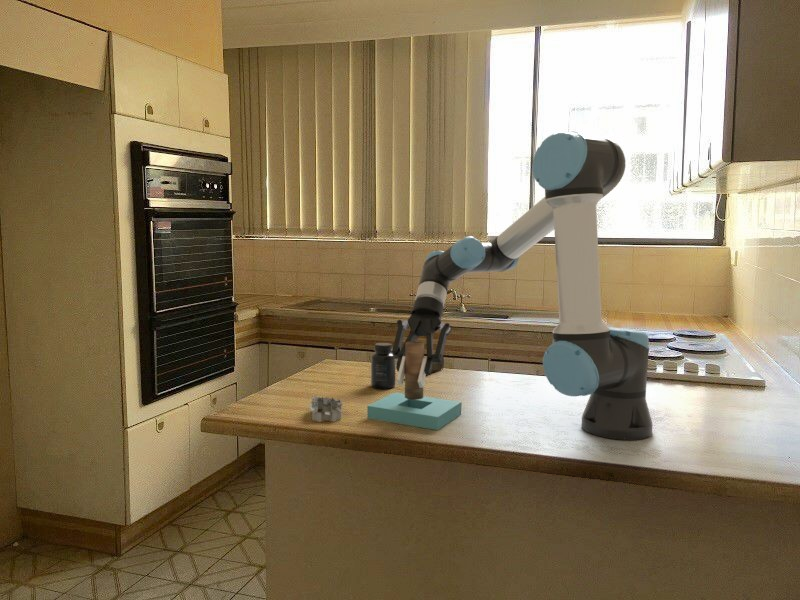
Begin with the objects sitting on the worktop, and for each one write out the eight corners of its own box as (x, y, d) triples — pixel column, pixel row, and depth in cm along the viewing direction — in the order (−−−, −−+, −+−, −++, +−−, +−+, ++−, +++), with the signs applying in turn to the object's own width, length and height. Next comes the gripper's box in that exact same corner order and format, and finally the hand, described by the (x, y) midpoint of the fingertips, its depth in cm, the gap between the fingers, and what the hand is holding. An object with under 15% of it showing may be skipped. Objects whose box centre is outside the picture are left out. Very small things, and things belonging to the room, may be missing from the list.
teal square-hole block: (461, 414, 160) (461, 401, 160) (437, 430, 148) (438, 417, 147) (394, 403, 168) (395, 392, 168) (367, 418, 156) (367, 405, 155)
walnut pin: (426, 396, 159) (427, 342, 157) (418, 400, 155) (419, 345, 153) (409, 393, 161) (410, 340, 159) (401, 398, 157) (402, 343, 155)
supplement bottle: (400, 386, 185) (401, 344, 184) (383, 390, 181) (383, 347, 179) (382, 382, 190) (383, 340, 189) (365, 386, 185) (366, 344, 184)
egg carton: (341, 423, 153) (341, 406, 152) (308, 423, 152) (308, 405, 152) (343, 409, 163) (343, 393, 163) (312, 409, 163) (312, 393, 163)
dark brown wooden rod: (415, 381, 193) (416, 365, 192) (404, 379, 195) (405, 363, 194) (451, 370, 208) (451, 355, 207) (440, 368, 210) (440, 353, 209)
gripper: (465, 315, 167) (448, 395, 154) (399, 311, 172) (377, 388, 159) (461, 296, 162) (444, 378, 148) (393, 293, 167) (370, 371, 153)
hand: (409, 383), depth 153 cm, fingers closed on walnut pin, 4 cm apart
